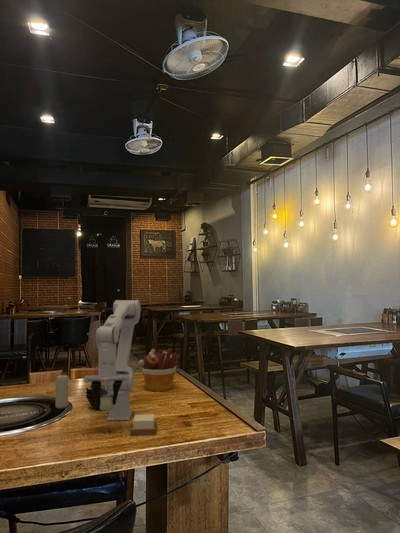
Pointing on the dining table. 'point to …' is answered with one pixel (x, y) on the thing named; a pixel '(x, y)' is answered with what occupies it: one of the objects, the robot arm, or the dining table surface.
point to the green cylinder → (106, 402)
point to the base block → (144, 431)
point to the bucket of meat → (159, 370)
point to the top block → (143, 421)
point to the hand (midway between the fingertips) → (106, 404)
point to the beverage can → (61, 391)
